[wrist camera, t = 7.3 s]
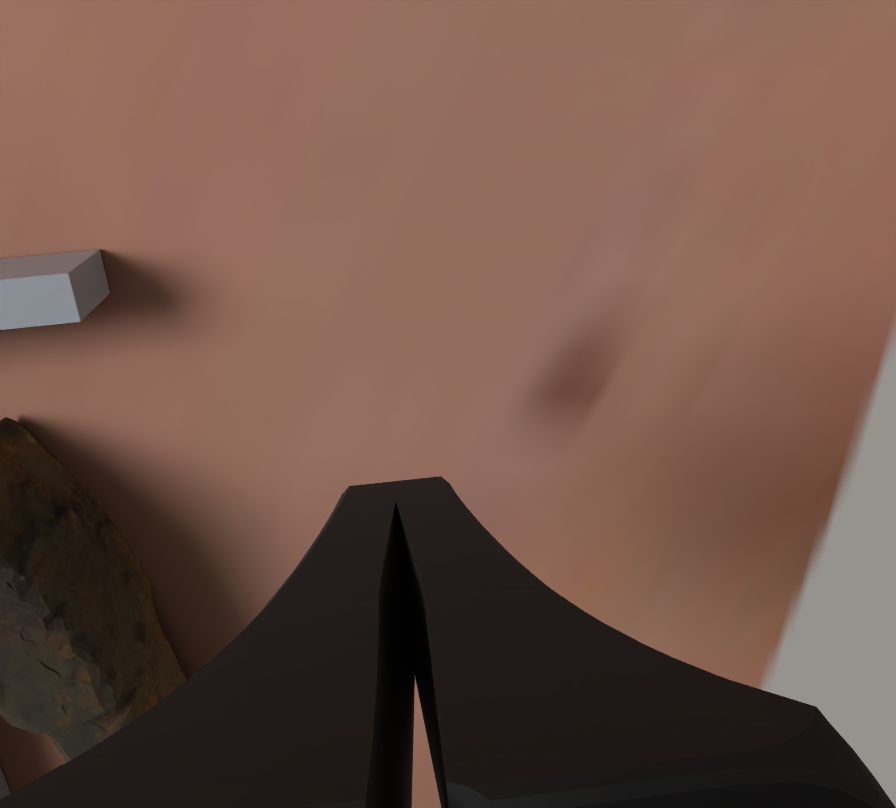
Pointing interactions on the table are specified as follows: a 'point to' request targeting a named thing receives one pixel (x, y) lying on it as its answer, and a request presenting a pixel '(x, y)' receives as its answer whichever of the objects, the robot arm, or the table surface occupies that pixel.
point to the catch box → (49, 301)
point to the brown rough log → (71, 608)
